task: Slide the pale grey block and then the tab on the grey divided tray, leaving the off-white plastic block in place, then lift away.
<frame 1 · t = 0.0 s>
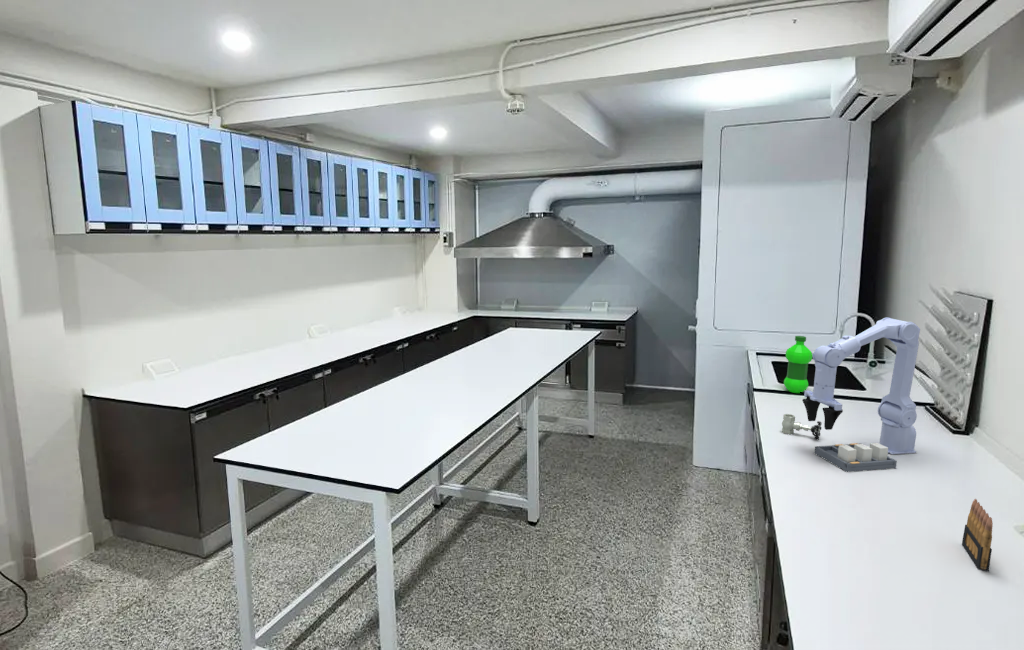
hand: (819, 424, 178), 10 cm above the counter, tool pointing down, fingers open, 7 cm apart
valve: (799, 436, 196), on the counter
plastic bottle: (795, 391, 249), on the counter
off-white plastic block: (846, 454, 171), point 4 cm above the counter, slide at 0.0 cm
pale grey block: (878, 452, 173), point 4 cm above the counter, slide at 0.0 cm
grey divided tray: (853, 460, 175), on the counter
ammunition clip: (974, 558, 124), on the counter
tab B: (862, 453, 172), point 4 cm above the counter, slide at 0.0 cm
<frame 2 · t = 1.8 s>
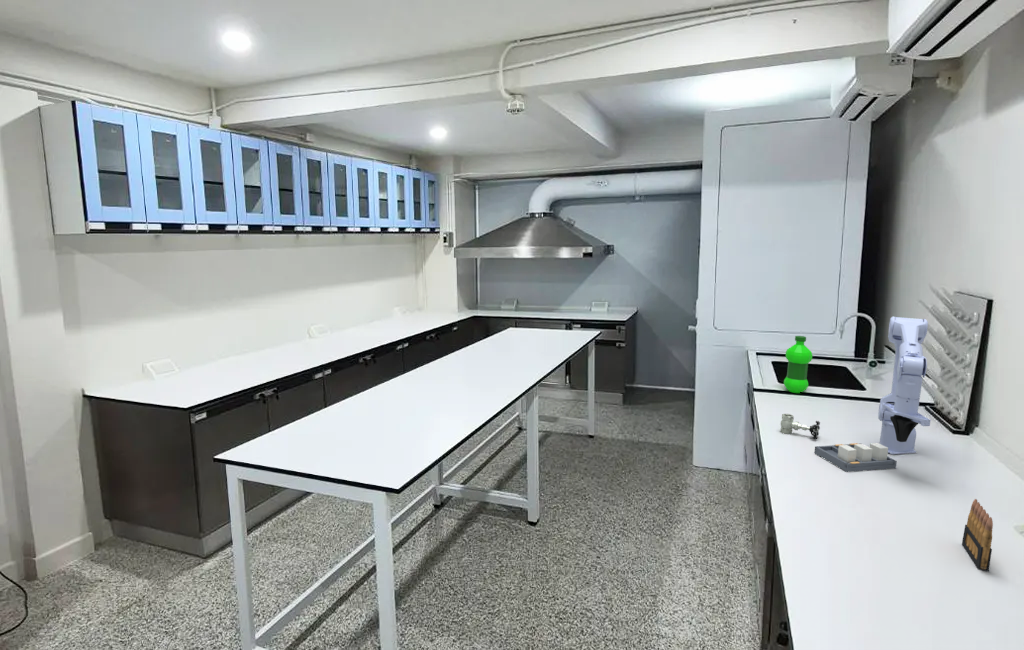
hand: (901, 441, 164), 10 cm above the counter, tool pointing down, fingers closed
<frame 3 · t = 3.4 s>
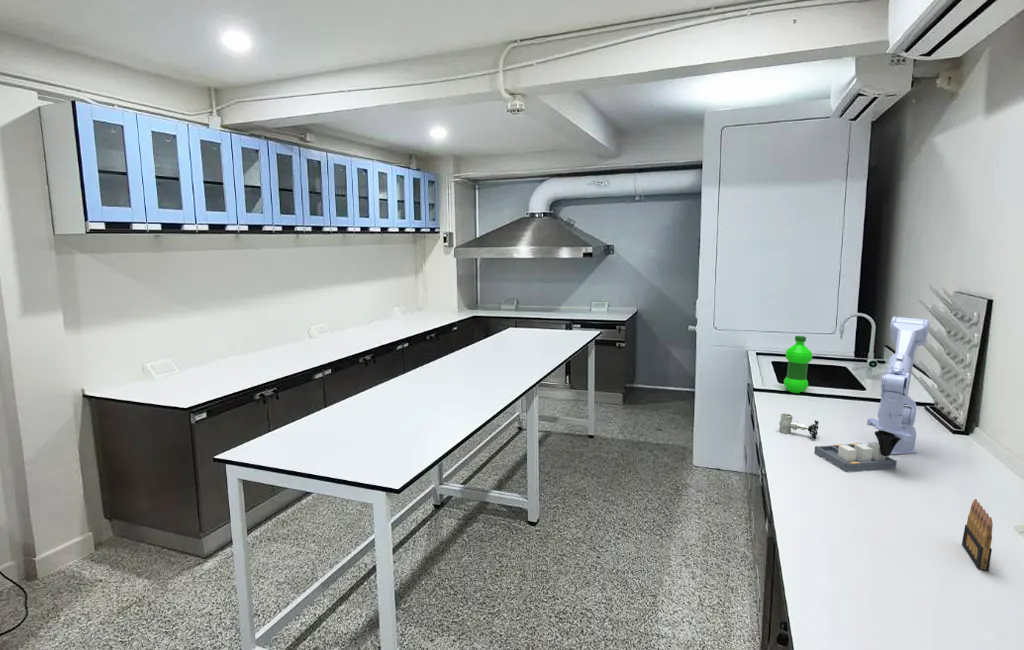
hand: (885, 455, 170), 4 cm above the counter, tool pointing down, fingers closed
pale grey block: (876, 451, 173), point 4 cm above the counter, slide at 0.6 cm, touching gripper
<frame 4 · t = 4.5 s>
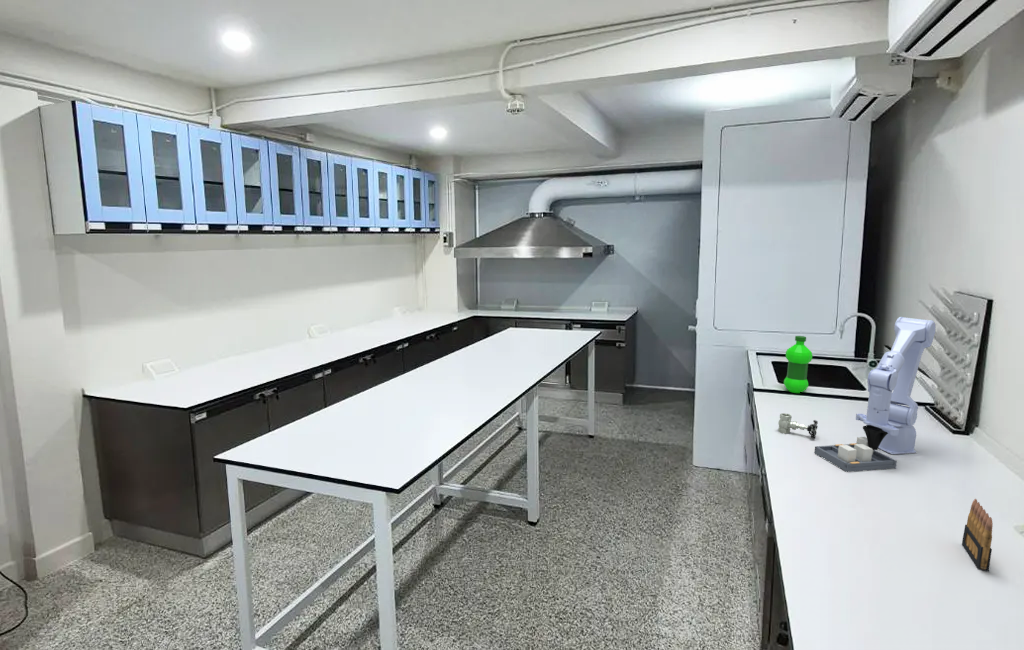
hand: (873, 449, 175), 4 cm above the counter, tool pointing down, fingers closed
pale grey block: (865, 445, 178), point 4 cm above the counter, slide at 5.2 cm, touching gripper
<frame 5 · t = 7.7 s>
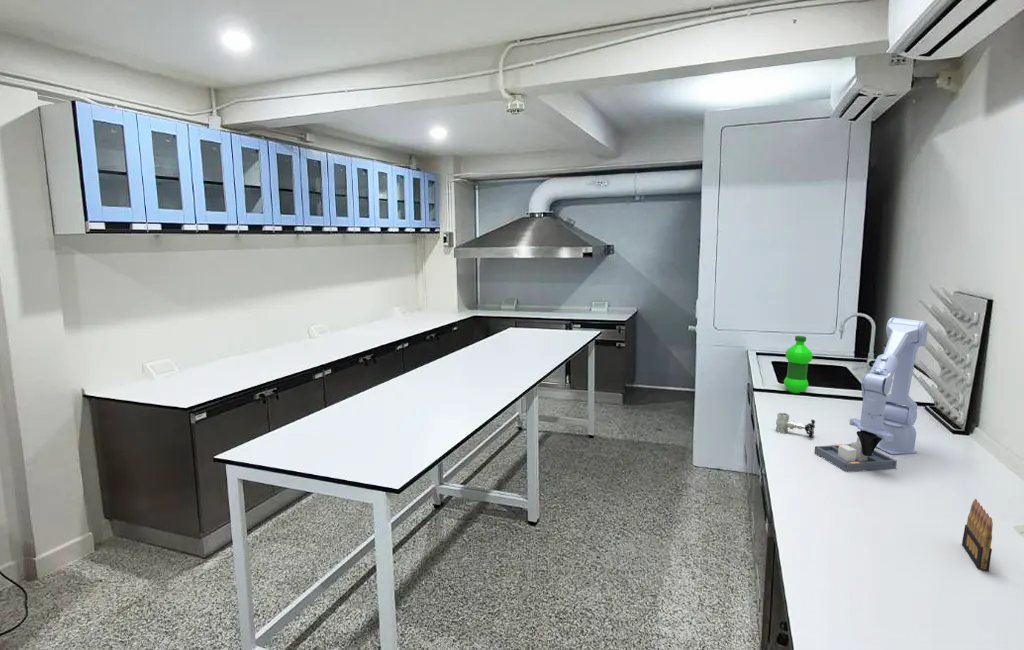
hand: (867, 455, 170), 4 cm above the counter, tool pointing down, fingers closed
pale grey block: (865, 445, 178), point 4 cm above the counter, slide at 5.2 cm
tab B: (858, 451, 173), point 4 cm above the counter, slide at 1.5 cm, touching gripper
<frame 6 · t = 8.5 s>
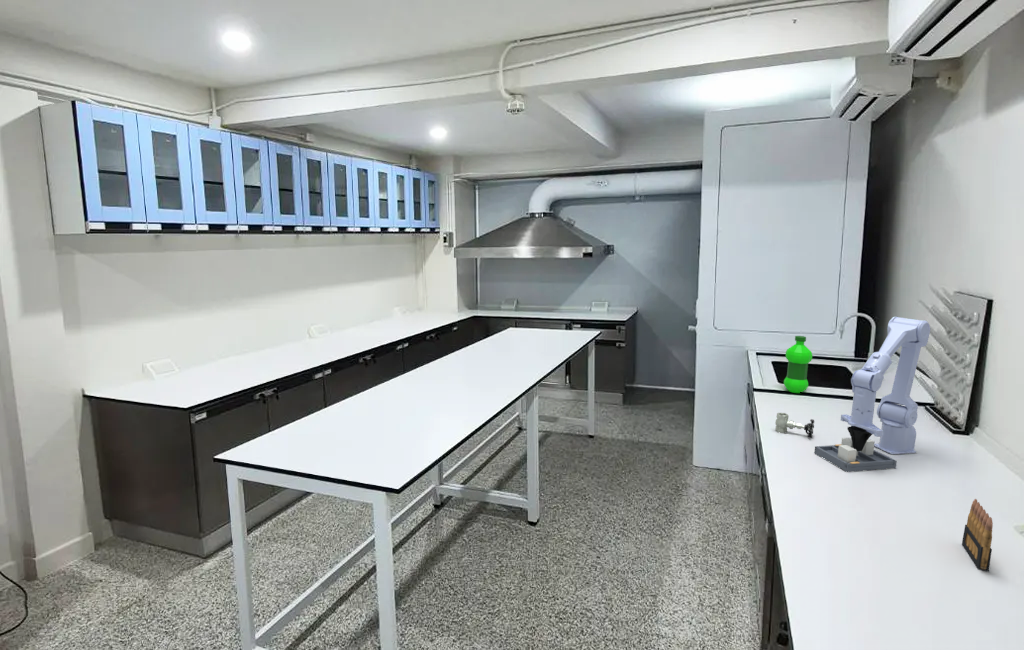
hand: (857, 450, 174), 4 cm above the counter, tool pointing down, fingers closed
tab B: (849, 446, 177), point 4 cm above the counter, slide at 5.2 cm, touching gripper
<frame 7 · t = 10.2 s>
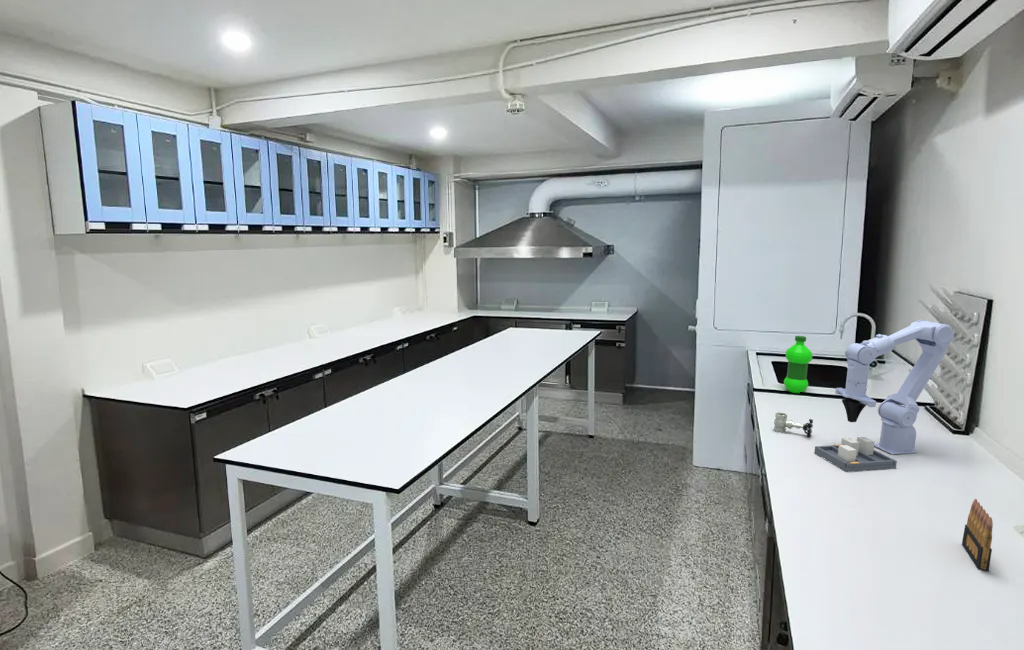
hand: (851, 421, 181), 10 cm above the counter, tool pointing down, fingers closed
tab B: (849, 446, 177), point 4 cm above the counter, slide at 5.2 cm
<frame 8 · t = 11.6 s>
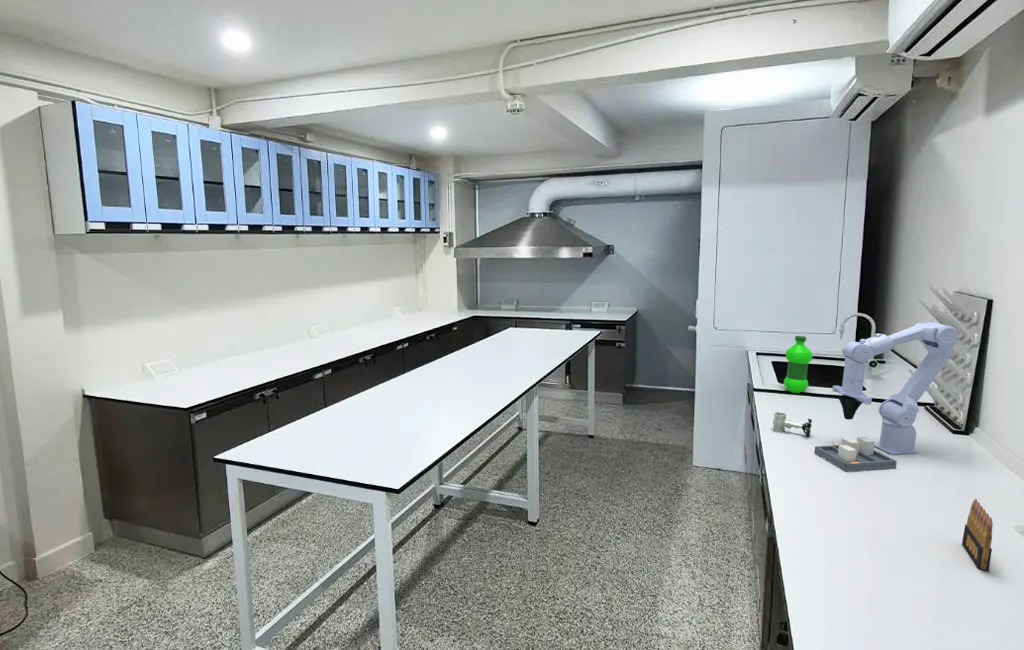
hand: (848, 418, 183), 10 cm above the counter, tool pointing down, fingers closed
at the end: pale grey block slide at 5.2 cm; tab B slide at 5.2 cm; off-white plastic block slide at 0.0 cm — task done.
